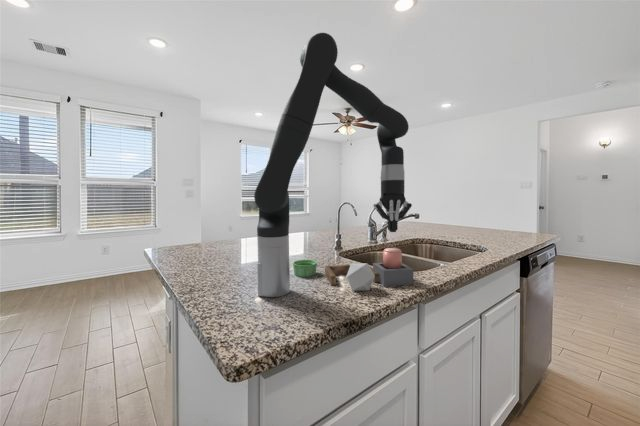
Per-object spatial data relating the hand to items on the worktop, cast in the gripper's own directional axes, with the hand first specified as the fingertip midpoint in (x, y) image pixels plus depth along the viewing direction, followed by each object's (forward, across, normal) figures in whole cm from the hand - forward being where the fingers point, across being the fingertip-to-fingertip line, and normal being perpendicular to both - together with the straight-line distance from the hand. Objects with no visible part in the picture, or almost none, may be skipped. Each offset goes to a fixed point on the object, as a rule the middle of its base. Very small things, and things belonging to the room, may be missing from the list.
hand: (392, 231), depth 92 cm
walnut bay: (+16, -13, +6) cm, 22 cm away
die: (+17, -13, -6) cm, 22 cm away
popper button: (+12, 0, 0) cm, 12 cm away
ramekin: (+17, -28, +14) cm, 36 cm away
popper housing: (+16, 0, 0) cm, 17 cm away
